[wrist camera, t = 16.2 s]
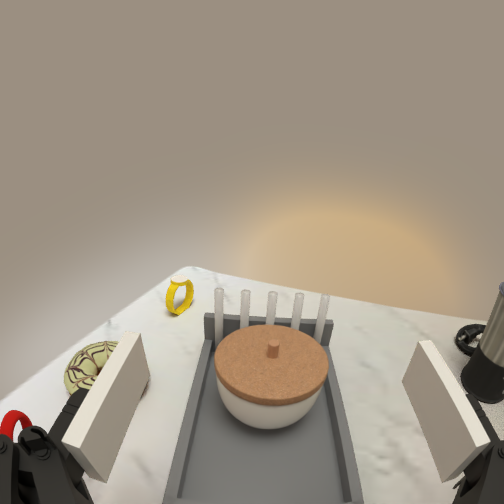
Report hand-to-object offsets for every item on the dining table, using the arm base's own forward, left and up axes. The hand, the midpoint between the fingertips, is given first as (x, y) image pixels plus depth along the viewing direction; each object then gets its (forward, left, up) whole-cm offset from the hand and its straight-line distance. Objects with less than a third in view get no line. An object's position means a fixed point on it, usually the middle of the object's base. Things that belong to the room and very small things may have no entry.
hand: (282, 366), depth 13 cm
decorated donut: (+19, -12, -18) cm, 29 cm away
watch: (+13, -31, -18) cm, 39 cm away
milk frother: (-34, -17, -18) cm, 42 cm away
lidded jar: (-1, -11, -17) cm, 20 cm away
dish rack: (-1, -9, -18) cm, 20 cm away
